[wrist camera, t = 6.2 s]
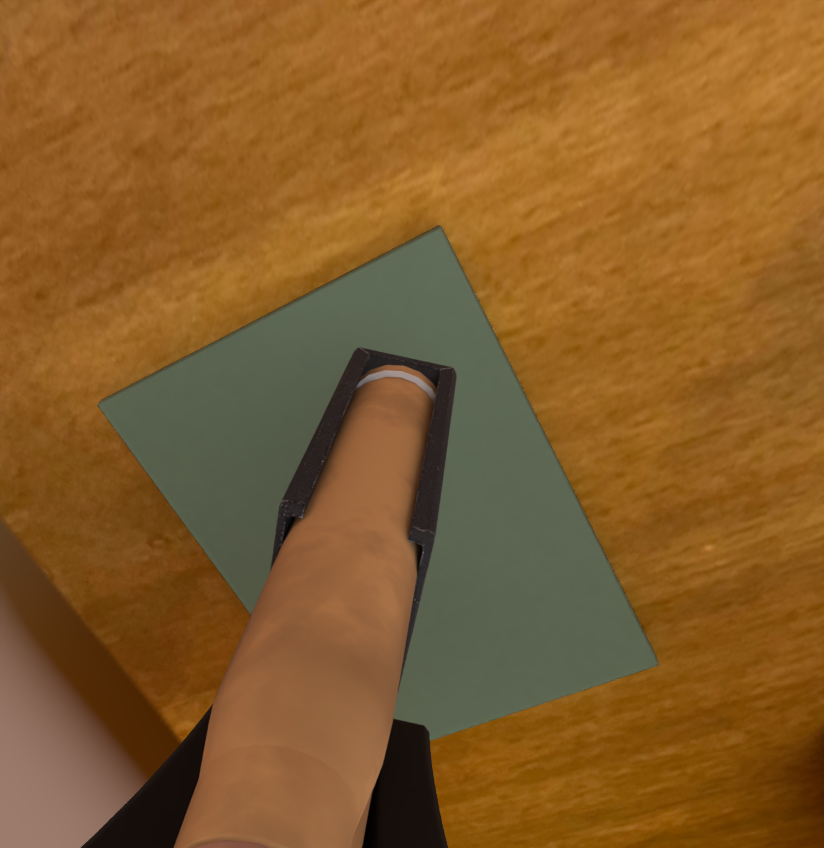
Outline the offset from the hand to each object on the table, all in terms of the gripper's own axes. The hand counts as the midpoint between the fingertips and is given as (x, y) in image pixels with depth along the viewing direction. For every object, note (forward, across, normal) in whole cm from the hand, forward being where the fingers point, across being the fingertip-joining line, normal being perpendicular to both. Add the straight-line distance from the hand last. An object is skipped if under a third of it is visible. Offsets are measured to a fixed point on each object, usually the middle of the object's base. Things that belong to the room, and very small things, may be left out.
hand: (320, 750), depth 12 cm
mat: (+10, 0, +2) cm, 10 cm away
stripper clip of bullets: (+4, 0, 0) cm, 4 cm away
